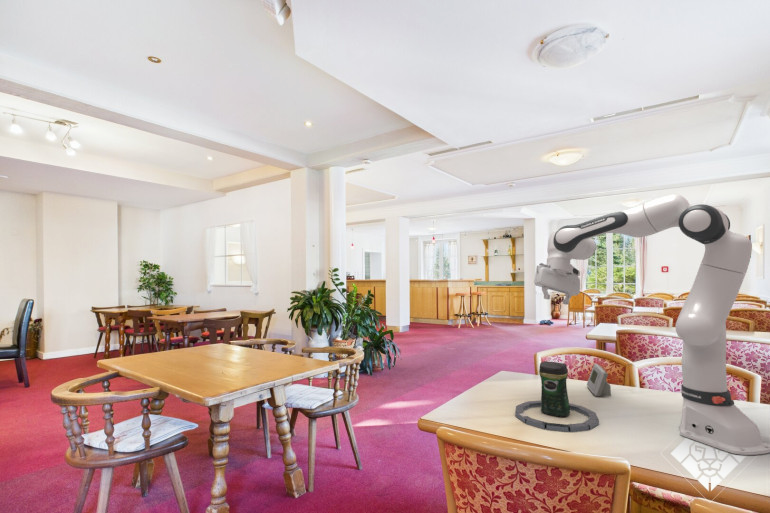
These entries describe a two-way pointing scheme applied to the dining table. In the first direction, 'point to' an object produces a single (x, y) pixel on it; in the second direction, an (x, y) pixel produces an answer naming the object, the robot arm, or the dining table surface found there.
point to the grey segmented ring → (583, 426)
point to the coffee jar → (554, 388)
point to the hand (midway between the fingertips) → (556, 301)
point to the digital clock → (599, 381)
